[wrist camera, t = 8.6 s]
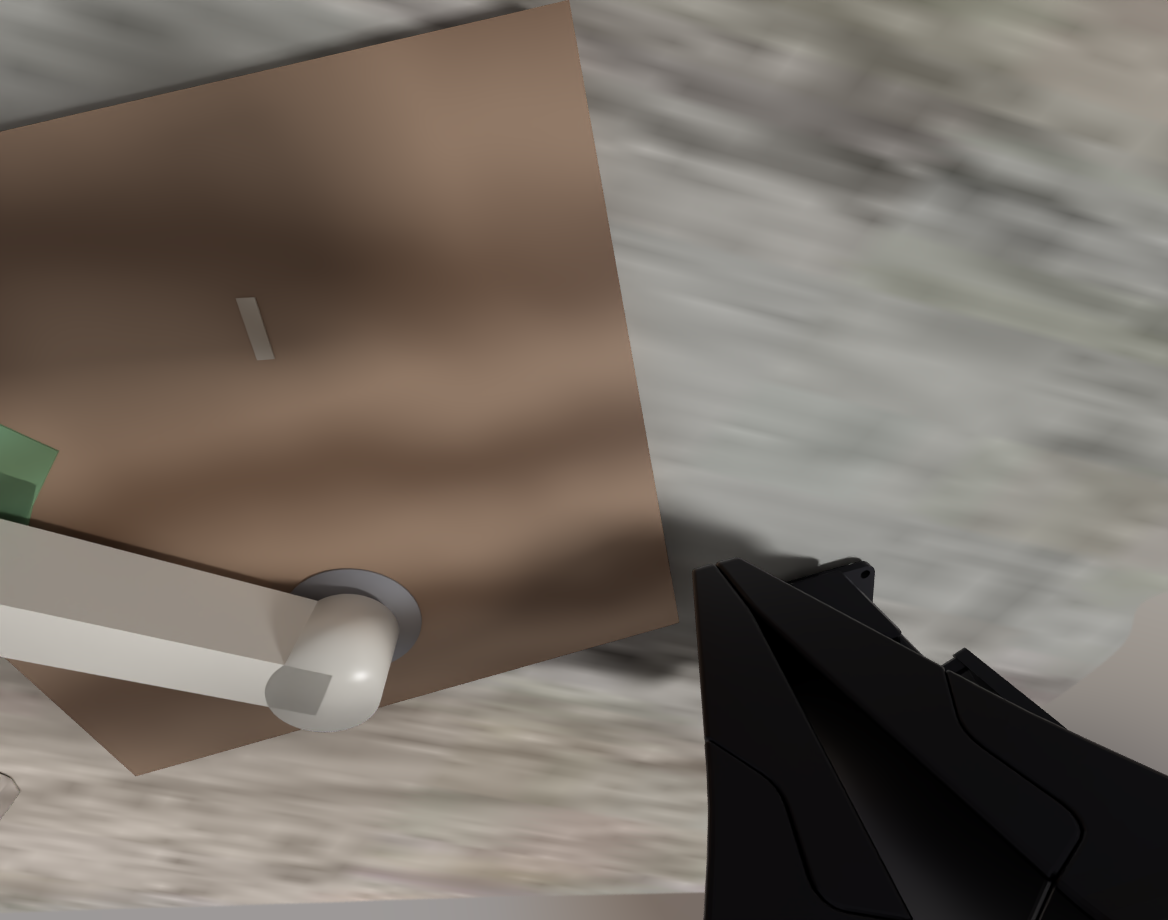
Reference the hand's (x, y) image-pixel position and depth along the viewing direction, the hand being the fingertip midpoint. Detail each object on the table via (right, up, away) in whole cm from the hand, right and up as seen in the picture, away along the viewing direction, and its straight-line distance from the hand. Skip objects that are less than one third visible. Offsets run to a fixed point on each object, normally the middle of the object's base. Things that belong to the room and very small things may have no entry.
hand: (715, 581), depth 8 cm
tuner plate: (-13, +2, +9) cm, 16 cm away
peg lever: (-17, -2, +8) cm, 19 cm away
